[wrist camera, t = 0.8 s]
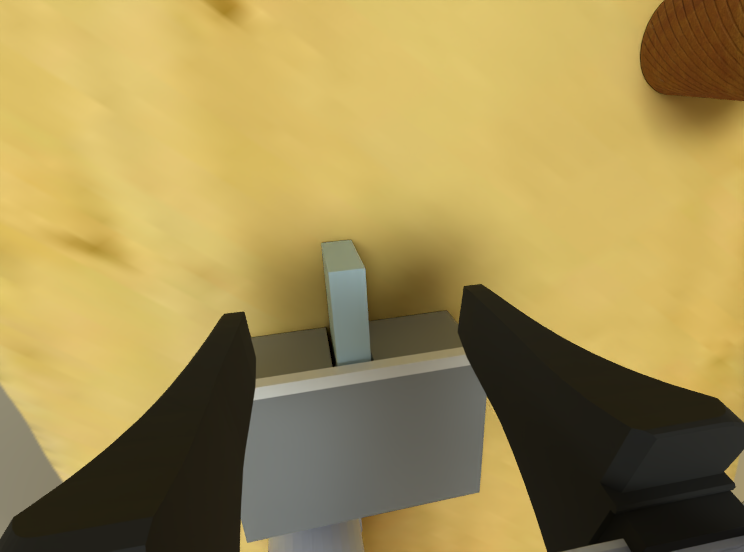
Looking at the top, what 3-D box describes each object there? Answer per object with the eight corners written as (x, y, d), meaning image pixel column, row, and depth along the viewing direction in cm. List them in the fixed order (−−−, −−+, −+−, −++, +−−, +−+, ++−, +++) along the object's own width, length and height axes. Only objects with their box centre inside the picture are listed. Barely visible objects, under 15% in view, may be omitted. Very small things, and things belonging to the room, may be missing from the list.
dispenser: (446, 422, 34) (481, 491, 28) (253, 457, 32) (244, 543, 25) (449, 300, 30) (493, 350, 23) (225, 330, 27) (205, 395, 21)
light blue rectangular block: (363, 406, 31) (377, 460, 26) (338, 410, 31) (348, 466, 26) (351, 239, 26) (365, 268, 21) (321, 242, 26) (328, 272, 21)
